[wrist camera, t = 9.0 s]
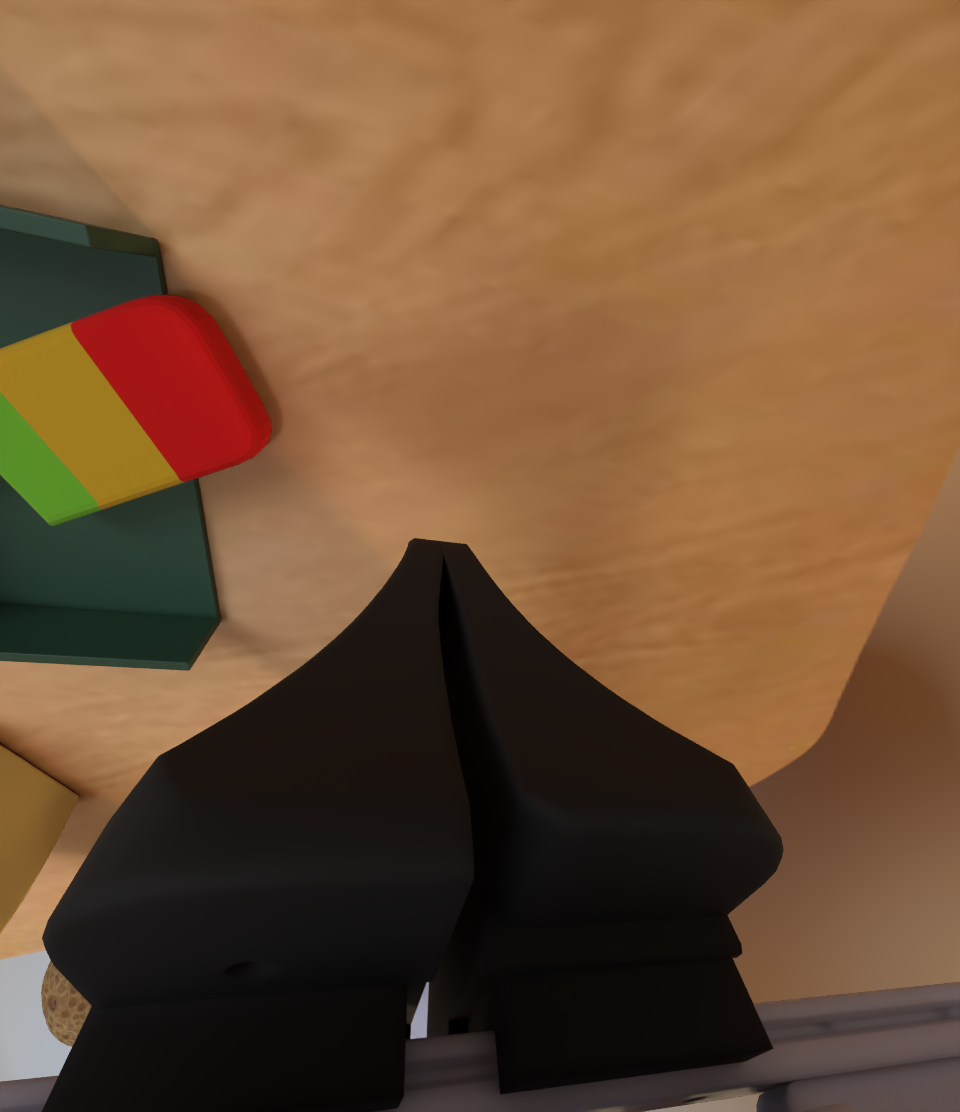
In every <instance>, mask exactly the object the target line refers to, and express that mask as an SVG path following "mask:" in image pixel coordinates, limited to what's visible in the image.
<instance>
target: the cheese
mask: <svg viewBox="0 0 960 1112" xmlns="http://www.w3.org/2000/svg"><path fill="white" fill-rule="evenodd" d="M78 798H79V797H78V795H77V794H75V793H74V792H72V791H71V790H69V789H68V788H66V787H65V786H63V785H62V784H60V783H58V782H57V781H55V780H54V779H52V778H51V777H49V776H48V775H46V774H44V773H43V772H41V771H40V770H38V769H37V768H35V767H34V766H32V765H31V764H29V763H28V762H27V761H25V760H24V759H22V758H21V757H19V756H17V755H16V754H14V753H13V752H11V751H10V750H8V749H6V748H5V747H3V746H2V745H0V933H1V932H2V930H3V929H4V928H5V926H6V925H7V923H8V922H9V921H10V919H11V918H12V916H13V915H14V913H15V912H16V910H17V909H18V907H19V906H20V904H21V903H22V901H23V900H24V898H25V896H26V895H27V893H28V891H29V890H30V888H31V886H32V884H33V883H34V881H35V879H36V878H37V876H38V874H39V873H40V871H41V869H42V867H43V866H44V864H45V862H46V860H47V858H48V857H49V855H50V853H51V851H52V849H53V847H54V845H55V844H56V842H57V840H58V838H59V836H60V834H61V832H62V830H63V828H64V826H65V824H66V822H67V820H68V818H69V816H70V814H71V812H72V810H73V808H74V806H75V804H76V803H77V801H78Z"/></svg>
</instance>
